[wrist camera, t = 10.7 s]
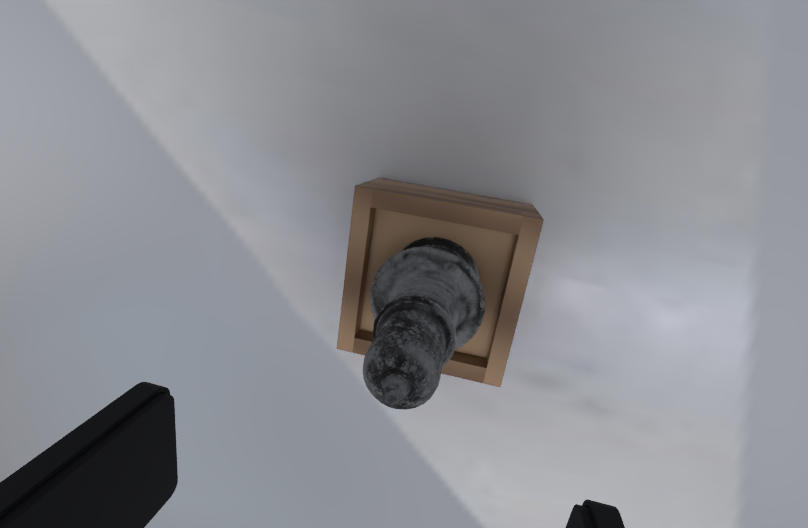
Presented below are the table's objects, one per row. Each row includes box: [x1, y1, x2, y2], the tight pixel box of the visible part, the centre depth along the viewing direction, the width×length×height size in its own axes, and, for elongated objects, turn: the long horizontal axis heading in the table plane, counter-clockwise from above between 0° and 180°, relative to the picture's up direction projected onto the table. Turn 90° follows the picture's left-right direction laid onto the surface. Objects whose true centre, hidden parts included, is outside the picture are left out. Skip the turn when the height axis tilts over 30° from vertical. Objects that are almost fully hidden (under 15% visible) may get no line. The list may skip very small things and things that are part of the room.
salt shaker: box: [363, 237, 485, 409], centre depth 19 cm, size 6×6×12 cm
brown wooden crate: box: [337, 178, 543, 387], centre depth 26 cm, size 10×10×5 cm
